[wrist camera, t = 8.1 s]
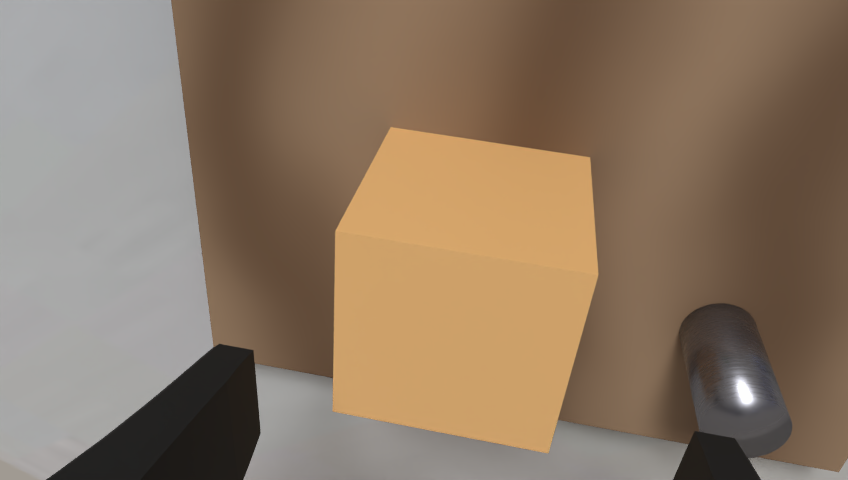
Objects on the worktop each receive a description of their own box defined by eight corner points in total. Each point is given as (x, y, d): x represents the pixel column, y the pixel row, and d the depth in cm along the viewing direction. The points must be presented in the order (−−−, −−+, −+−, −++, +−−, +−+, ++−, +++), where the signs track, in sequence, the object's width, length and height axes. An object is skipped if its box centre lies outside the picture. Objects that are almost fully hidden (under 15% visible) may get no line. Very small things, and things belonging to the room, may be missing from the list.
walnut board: (1657, -960, 8) (1854, -1097, 7) (823, 434, 22) (838, 471, 21) (106, -940, 10) (44, -1043, 9) (233, 327, 24) (214, 355, 23)
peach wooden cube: (590, 157, 17) (598, 275, 13) (551, 314, 19) (548, 453, 15) (390, 127, 17) (335, 231, 13) (380, 284, 20) (332, 411, 16)
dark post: (754, 277, 19) (806, 407, 15) (731, 330, 20) (774, 465, 16) (683, 266, 20) (714, 390, 15) (664, 319, 21) (688, 449, 17)
